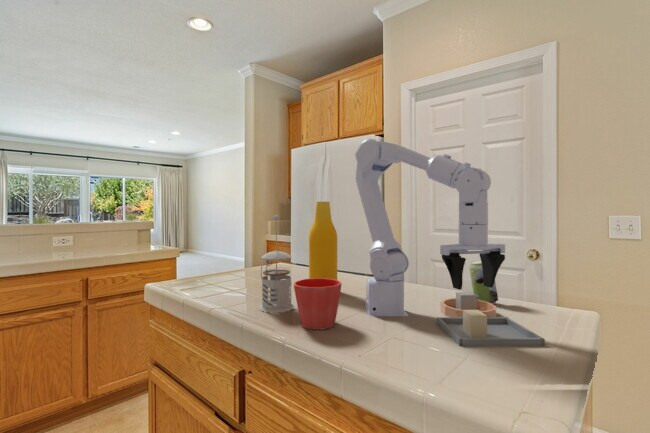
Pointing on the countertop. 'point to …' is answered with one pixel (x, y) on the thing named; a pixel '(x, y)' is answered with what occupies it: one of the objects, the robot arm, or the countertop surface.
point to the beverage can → (481, 284)
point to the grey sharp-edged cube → (466, 301)
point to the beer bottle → (323, 244)
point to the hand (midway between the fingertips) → (472, 287)
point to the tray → (491, 333)
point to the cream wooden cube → (475, 323)
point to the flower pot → (317, 302)
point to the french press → (276, 283)
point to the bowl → (450, 310)
